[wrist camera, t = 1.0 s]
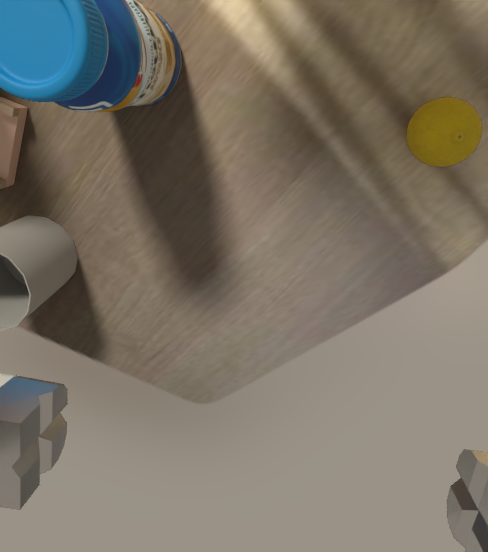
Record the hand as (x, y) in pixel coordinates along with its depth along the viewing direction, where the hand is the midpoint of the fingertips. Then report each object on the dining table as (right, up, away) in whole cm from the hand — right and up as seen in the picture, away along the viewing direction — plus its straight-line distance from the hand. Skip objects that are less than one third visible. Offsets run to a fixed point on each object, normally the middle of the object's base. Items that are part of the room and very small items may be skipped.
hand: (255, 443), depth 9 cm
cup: (-22, +6, +41) cm, 47 cm away
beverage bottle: (-10, +23, +32) cm, 41 cm away
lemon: (+17, +17, +33) cm, 41 cm away
